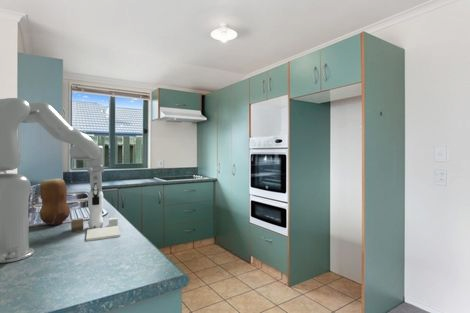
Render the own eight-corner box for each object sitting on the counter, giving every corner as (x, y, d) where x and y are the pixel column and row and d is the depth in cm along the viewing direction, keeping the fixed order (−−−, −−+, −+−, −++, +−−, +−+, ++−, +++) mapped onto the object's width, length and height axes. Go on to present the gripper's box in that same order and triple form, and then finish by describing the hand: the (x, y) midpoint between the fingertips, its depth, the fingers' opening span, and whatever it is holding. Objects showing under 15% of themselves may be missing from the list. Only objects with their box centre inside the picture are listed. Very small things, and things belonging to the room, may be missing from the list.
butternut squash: (50, 221, 152) (49, 177, 152) (74, 220, 153) (74, 177, 153) (33, 228, 139) (32, 180, 138) (60, 227, 140) (59, 179, 139)
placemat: (120, 236, 126) (120, 234, 126) (86, 241, 119) (86, 239, 119) (118, 227, 140) (117, 225, 140) (87, 231, 134) (87, 229, 134)
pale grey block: (117, 226, 143) (117, 218, 143) (109, 227, 141) (109, 219, 141) (117, 224, 146) (117, 217, 146) (109, 225, 144) (108, 218, 144)
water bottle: (86, 230, 135) (86, 180, 135) (90, 226, 142) (89, 179, 142) (102, 229, 137) (101, 180, 137) (104, 225, 144) (104, 178, 144)
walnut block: (83, 230, 135) (82, 220, 135) (71, 232, 133) (71, 222, 133) (83, 228, 139) (83, 218, 139) (72, 229, 137) (72, 219, 137)
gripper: (104, 170, 133) (104, 205, 133) (103, 168, 148) (103, 200, 149) (86, 170, 130) (86, 207, 130) (87, 168, 145) (88, 201, 145)
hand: (95, 203), depth 139 cm, fingers closed on water bottle, 7 cm apart
